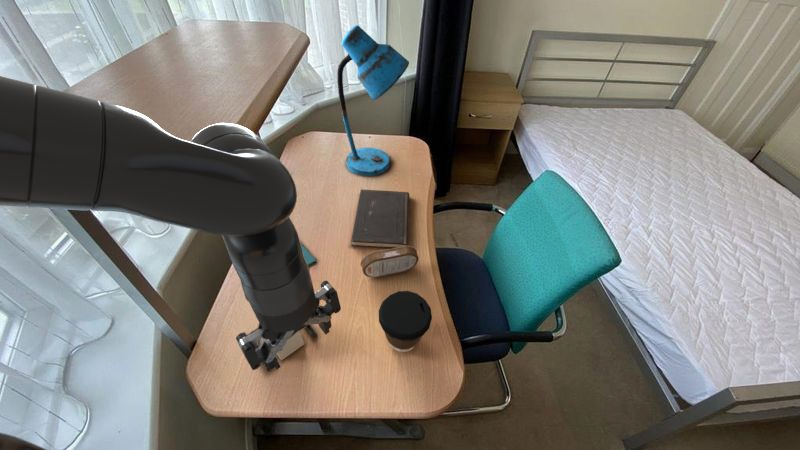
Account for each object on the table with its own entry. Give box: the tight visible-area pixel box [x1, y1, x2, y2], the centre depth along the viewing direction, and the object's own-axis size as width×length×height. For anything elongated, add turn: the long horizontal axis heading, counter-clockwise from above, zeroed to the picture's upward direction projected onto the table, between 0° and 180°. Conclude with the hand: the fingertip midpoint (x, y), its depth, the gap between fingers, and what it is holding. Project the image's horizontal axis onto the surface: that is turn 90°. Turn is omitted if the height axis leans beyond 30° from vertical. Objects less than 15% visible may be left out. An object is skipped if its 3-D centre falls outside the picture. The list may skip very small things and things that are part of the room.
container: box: [276, 330, 305, 361], centre depth 68 cm, size 6×6×9 cm
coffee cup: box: [378, 290, 433, 353], centre depth 69 cm, size 11×11×12 cm
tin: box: [360, 245, 419, 279], centre depth 83 cm, size 15×3×8 cm, turn 106°
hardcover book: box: [350, 188, 410, 249], centre depth 99 cm, size 16×23×2 cm
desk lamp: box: [336, 24, 410, 177], centre depth 105 cm, size 16×22×45 cm
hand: (301, 345), depth 51 cm, fingers open, 8 cm apart
